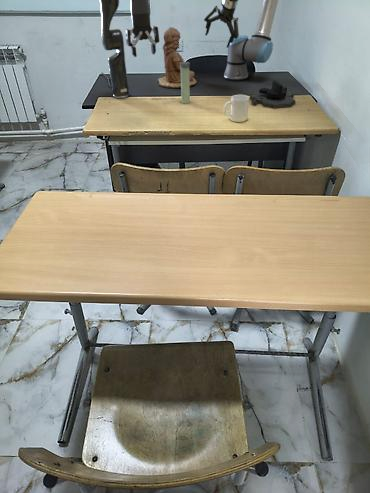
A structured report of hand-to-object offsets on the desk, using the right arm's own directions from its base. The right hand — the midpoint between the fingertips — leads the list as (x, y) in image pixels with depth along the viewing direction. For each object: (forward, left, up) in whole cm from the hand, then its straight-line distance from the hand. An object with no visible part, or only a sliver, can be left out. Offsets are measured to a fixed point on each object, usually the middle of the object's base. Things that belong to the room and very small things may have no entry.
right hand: (217, 40), depth 199 cm
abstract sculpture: (+6, +41, -25) cm, 48 cm away
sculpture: (+5, -25, -25) cm, 36 cm away
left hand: (+64, +2, +5) cm, 64 cm away
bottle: (+32, +1, -25) cm, 40 cm away
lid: (+32, +1, -5) cm, 33 cm away
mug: (+40, +36, -25) cm, 60 cm away
